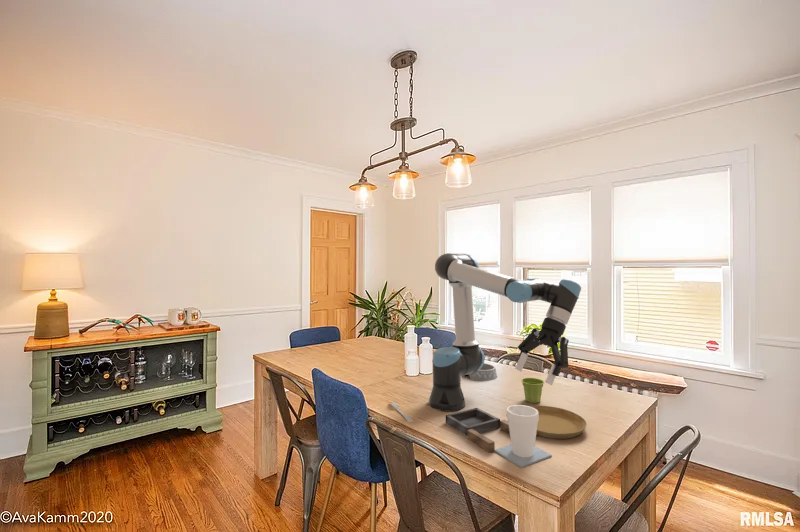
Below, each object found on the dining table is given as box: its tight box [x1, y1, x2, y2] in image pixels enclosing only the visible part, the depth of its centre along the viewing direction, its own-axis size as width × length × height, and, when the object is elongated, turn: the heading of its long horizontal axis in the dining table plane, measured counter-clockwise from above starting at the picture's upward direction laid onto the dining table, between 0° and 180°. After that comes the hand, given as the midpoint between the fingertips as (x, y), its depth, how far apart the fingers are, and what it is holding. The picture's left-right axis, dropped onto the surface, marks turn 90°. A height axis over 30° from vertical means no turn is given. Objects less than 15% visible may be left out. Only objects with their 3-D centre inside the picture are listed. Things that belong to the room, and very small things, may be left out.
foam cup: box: [506, 404, 539, 457], centre depth 114 cm, size 10×9×13 cm
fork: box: [390, 402, 414, 423], centre depth 149 cm, size 3×21×3 cm, turn 25°
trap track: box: [445, 407, 510, 454], centre depth 130 cm, size 25×17×3 cm
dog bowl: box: [467, 362, 498, 382], centre depth 198 cm, size 17×18×5 cm
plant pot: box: [521, 377, 545, 404], centre depth 160 cm, size 9×9×9 cm
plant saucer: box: [530, 405, 588, 440], centre depth 134 cm, size 24×24×3 cm
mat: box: [494, 444, 553, 468], centre depth 114 cm, size 11×13×1 cm
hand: (532, 376), depth 127 cm, fingers open, 13 cm apart
